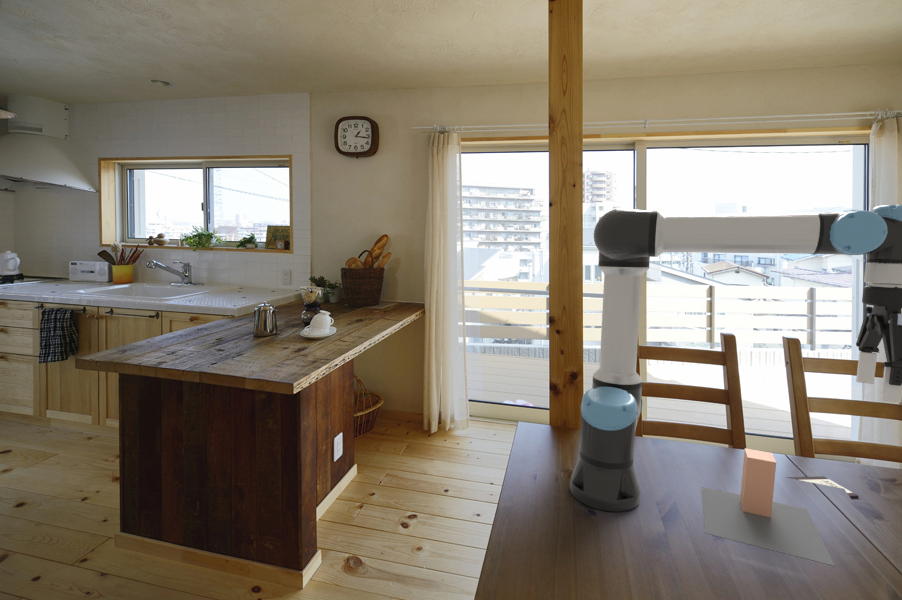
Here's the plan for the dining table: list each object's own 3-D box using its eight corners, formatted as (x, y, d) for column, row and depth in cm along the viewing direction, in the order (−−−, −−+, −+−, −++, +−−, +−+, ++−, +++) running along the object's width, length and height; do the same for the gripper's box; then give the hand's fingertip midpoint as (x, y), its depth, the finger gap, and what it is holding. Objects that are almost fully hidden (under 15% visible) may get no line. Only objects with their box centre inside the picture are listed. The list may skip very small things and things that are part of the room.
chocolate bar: (754, 478, 112) (824, 476, 113) (754, 481, 112) (823, 480, 113) (784, 497, 103) (858, 495, 104) (783, 501, 103) (858, 499, 104)
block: (742, 511, 97) (747, 457, 96) (740, 499, 102) (744, 448, 100) (770, 517, 95) (776, 462, 94) (766, 505, 100) (772, 453, 98)
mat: (704, 535, 90) (705, 532, 90) (701, 488, 107) (701, 486, 107) (834, 568, 81) (834, 565, 81) (806, 511, 98) (806, 509, 98)
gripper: (949, 291, 77) (932, 414, 79) (889, 282, 99) (877, 378, 101) (890, 289, 80) (876, 406, 82) (844, 281, 102) (834, 374, 104)
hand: (876, 391), depth 92 cm, fingers open, 13 cm apart
